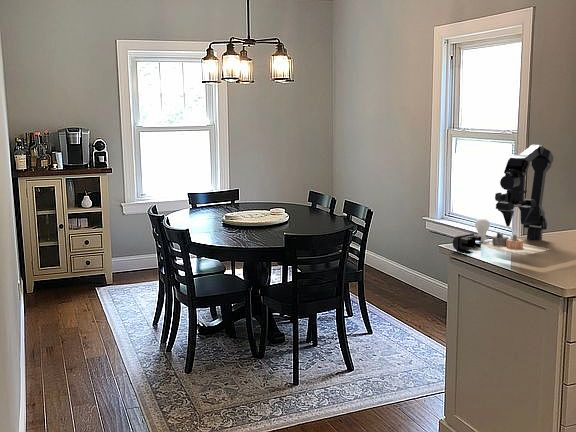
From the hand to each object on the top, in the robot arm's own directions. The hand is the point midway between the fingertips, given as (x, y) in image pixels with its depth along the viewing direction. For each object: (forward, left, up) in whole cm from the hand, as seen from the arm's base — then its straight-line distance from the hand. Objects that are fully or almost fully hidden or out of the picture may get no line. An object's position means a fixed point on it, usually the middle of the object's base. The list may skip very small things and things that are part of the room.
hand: (515, 225), depth 263 cm
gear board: (0, -1, -11) cm, 11 cm away
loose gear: (0, 0, -9) cm, 9 cm away
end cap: (+16, -11, -11) cm, 22 cm away
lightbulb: (-2, -19, -11) cm, 22 cm away
